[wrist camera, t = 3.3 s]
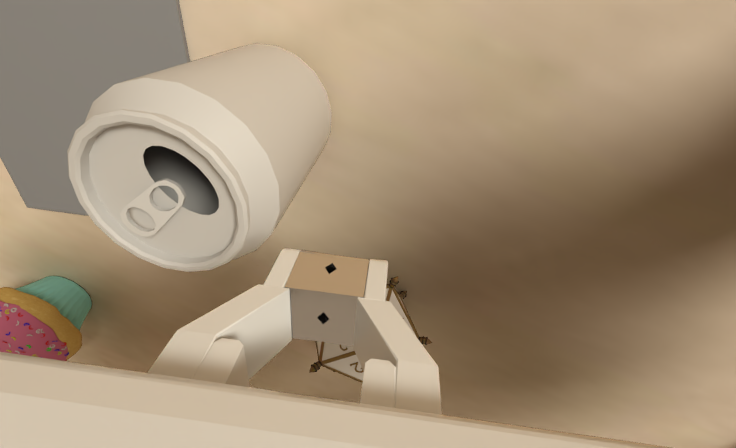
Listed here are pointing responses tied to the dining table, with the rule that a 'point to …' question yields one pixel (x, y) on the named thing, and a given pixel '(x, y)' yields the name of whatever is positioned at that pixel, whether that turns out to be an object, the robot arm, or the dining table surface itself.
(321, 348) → the game die
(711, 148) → the dining table surface
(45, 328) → the cupcake
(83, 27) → the mat
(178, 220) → the can
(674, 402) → the dining table surface
